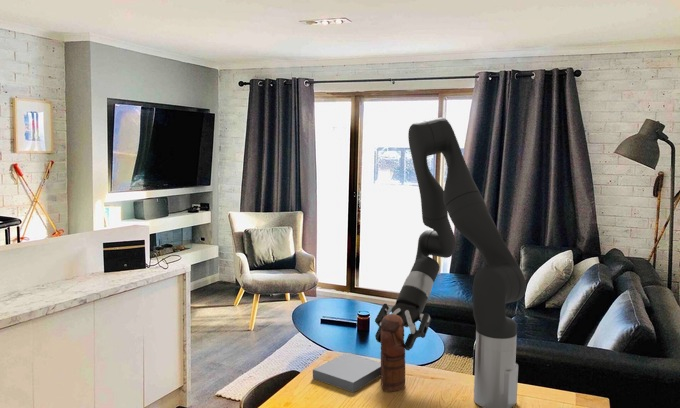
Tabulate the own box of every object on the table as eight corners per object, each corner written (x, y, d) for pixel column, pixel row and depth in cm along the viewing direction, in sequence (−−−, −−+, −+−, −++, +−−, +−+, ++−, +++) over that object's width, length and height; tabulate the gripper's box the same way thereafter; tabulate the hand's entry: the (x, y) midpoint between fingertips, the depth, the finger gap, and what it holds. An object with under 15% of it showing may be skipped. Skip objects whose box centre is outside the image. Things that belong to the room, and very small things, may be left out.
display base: (385, 372, 149) (385, 363, 148) (353, 392, 137) (353, 382, 137) (346, 360, 157) (346, 352, 156) (312, 378, 145) (312, 369, 144)
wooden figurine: (406, 393, 136) (407, 322, 134) (380, 392, 137) (381, 322, 135) (403, 373, 148) (404, 308, 146) (379, 373, 148) (380, 307, 146)
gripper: (388, 280, 151) (363, 331, 144) (434, 289, 143) (411, 344, 135) (397, 294, 156) (374, 345, 148) (443, 304, 148) (421, 358, 140)
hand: (391, 344), depth 142 cm, fingers closed on wooden figurine, 8 cm apart
